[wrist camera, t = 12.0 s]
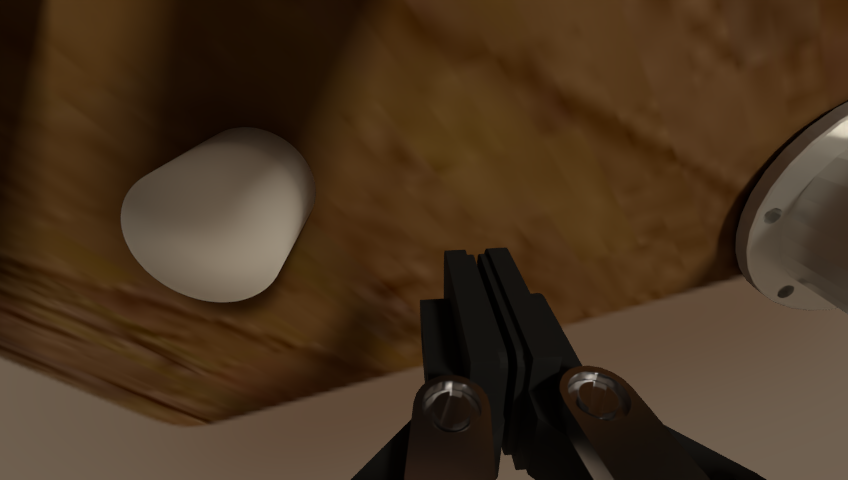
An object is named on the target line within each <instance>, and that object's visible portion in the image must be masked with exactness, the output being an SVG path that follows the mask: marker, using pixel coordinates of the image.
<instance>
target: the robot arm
mask: <svg viewBox="0 0 848 480" xmlns="http://www.w3.org/2000/svg"><path fill="white" fill-rule="evenodd" d="M736 257H737V261H738V265H739V268H740V270H741V272H742V273H743V275H744V277H745V278H746V280H747V281H748V282H749V283H750V284H751V285H752V286H753V287H755V288H756V289H757V290H758V291H759V292H761V293H762V294H763V295H765V296H766V297H768V298H769V299H770V300H772V301H774V302H775V303H778V304H781V305H784V306H787V307H790V308H795V309H803V310H827V309H828V310H830V309H836V308H839V309H841V310H842V311H844V312H845V313H847V314H848V102H846V103H844V104H843V105H841V106H839V107H837V108H835V109H834V110H832V111H831V112H830V113H828V114H827V115H825V116H824V117H823V118H821V119H820V120H818V121H817V122H815V123H814V124H813V125H811V126H810V127H808V128H807V129H806V130H805V131H804V132H803V133H802V134H801V135H800V136H798V137H797V138H796V139H795V140H794V141H793V142H792V143H791V144H790V145H788V146H787V147H786V148H785V149H784V150H783V151H782V152H781V154H780V155H779V156H778V157H777V158H776V159H775V161H774V162H773V163H772V164H771V165H770V166H769V167H768V169H767V170H766V171H765V172H764V174H763V176H762V177H761V179H760V180H759V182H758V183H757V185H756V186H755V188H754V189H753V191H752V192H751V194H750V196H749V198H748V201H747V203H746V205H745V207H744V209H743V212H742V214H741V217H740V221H739V225H738V229H737V233H736ZM420 318H421V340H422V354H423V366H424V378H425V384H424V385H422V387H421V388H420V389H419V391H418V392H417V393H416V397H415V400H414V403H413V411H412V419H411V420H410V421H409V422H408V423H407V424H406V425H405V426H404V427H403V428H402V429H401V430H400V431H399V432H398V433H397V434H396V435H395V436H394V437H393V438H392V439H391V440H390V441H389V442H388V443H387V444H386V445H385V446H384V447H383V448H382V449H381V450H380V451H379V452H378V453H377V454H376V455H375V456H374V457H373V458H372V459H371V460H370V461H369V462H368V463H367V464H366V465H365V466H364V467H363V468H362V469H361V470H360V471H359V472H358V473H357V474H356V475H355V476H354V477H353V478H352V479H351V480H496V479H497V477H498V471H499V463H500V455H501V447H502V450H503V453H504V455H512V458H513V462H514V465H515V469H516V470H523V469H526V470H527V473H528V475H530V476H531V477H532V478H534V479H535V480H766V479H765V478H763V477H761V476H760V475H758V474H757V473H755V472H753V471H751V470H749V469H747V468H745V467H743V466H741V465H740V464H738V463H736V462H734V461H732V460H730V459H728V458H726V457H724V456H722V455H720V454H718V453H717V452H715V451H713V450H711V449H709V448H707V447H705V446H703V445H701V444H699V443H698V442H696V441H694V440H692V439H690V438H688V437H686V436H684V435H682V434H680V433H678V432H676V431H675V430H673V429H671V428H669V427H667V426H665V425H663V423H662V422H661V421H660V420H659V419H658V417H657V416H656V415H655V414H654V413H653V411H652V410H651V409H650V408H649V407H648V406H647V404H646V403H645V402H644V401H643V400H642V398H640V396H639V395H638V394H637V393H636V391H635V390H634V389H633V388H632V387H631V386H630V385H629V384H628V383H627V382H626V381H625V380H624V379H622V378H621V377H619V376H617V375H616V374H614V373H612V372H610V371H608V370H605V369H603V368H599V367H593V366H582V364H581V363H580V361H579V359H578V357H577V355H576V353H575V352H574V350H573V348H572V346H571V344H570V343H569V341H568V339H567V337H566V335H565V334H564V332H563V330H562V328H561V326H560V325H559V323H558V321H557V319H556V317H555V316H554V314H553V312H552V310H551V308H550V307H549V305H548V303H547V301H546V299H545V298H544V296H543V295H542V294H540V293H534V294H530V292H529V290H528V288H527V286H526V284H525V282H524V280H523V278H522V276H521V274H520V272H519V270H518V268H517V266H516V264H515V262H514V260H513V258H512V256H511V255H510V253H509V251H508V249H507V248H490V249H486V250H485V253H484V254H479V255H478V261H477V264H476V261H475V258H474V256H473V255H467V254H466V251H465V250H451V251H445V252H444V299H430V300H420Z"/></svg>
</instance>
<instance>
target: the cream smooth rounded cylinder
mask: <svg viewBox="0 0 848 480" xmlns="http://www.w3.org/2000/svg"><path fill="white" fill-rule="evenodd" d="M315 194H316V189H315V182H314V178H313V175H312V172H311V170H310V167H309V166H308V164H307V162H306V161H305V159H304V158H303V156H302V155H301V154H300V153H299V152H298V151H297V150H296V148H294V147H293V146H292V145H291V144H290V143H289V142H287V141H286V140H284V139H283V138H281V137H279V136H277V135H275V134H273V133H271V132H268V131H266V130H262V129H258V128H251V127H238V128H232V129H228V130H225V131H223V132H220V133H218V134H217V135H215V136H213V137H211V138H210V139H208V140H206V141H204V142H203V143H201V144H199V145H198V146H196V147H194V148H192V149H191V150H189V151H187V152H185V153H184V154H182V155H180V156H178V157H177V158H175V159H173V160H172V161H170V162H168V163H166V164H165V165H163V166H161V167H159V168H158V169H156V170H154V171H153V172H151V173H149V174H147V175H146V176H144V177H143V178H141V179H140V180H138V181H137V182H136V183H135V184H134V185H133V186H132V187H131V189H130V190H129V191H128V193H127V195H126V197H125V199H124V201H123V205H122V209H121V227H122V231H123V235H124V238H125V241H126V243H127V245H128V247H129V249H130V251H131V252H132V254H133V256H134V257H135V258H136V260H137V261H138V262H139V263H140V265H141V266H142V267H143V268H144V269H145V270H146V271H147V272H148V273H149V274H151V275H152V276H153V277H154V278H155V279H157V280H158V281H159V282H161V283H162V284H164V285H166V286H167V287H169V288H171V289H173V290H175V291H177V292H179V293H181V294H184V295H186V296H189V297H192V298H195V299H199V300H204V301H210V302H234V301H240V300H244V299H247V298H250V297H253V296H255V295H257V294H259V293H260V292H262V291H263V290H265V289H266V288H267V287H268V286H269V285H270V284H271V283H272V282H273V281H274V280H275V278H276V277H277V275H278V273H279V271H280V269H281V268H282V266H283V264H284V262H285V260H286V258H287V256H288V254H289V252H290V251H291V249H292V247H293V245H294V243H295V241H296V239H297V237H298V235H299V234H300V232H301V230H302V228H303V226H304V224H305V222H306V220H307V218H308V217H309V215H310V213H311V211H312V209H313V205H314V202H315Z"/></svg>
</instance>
